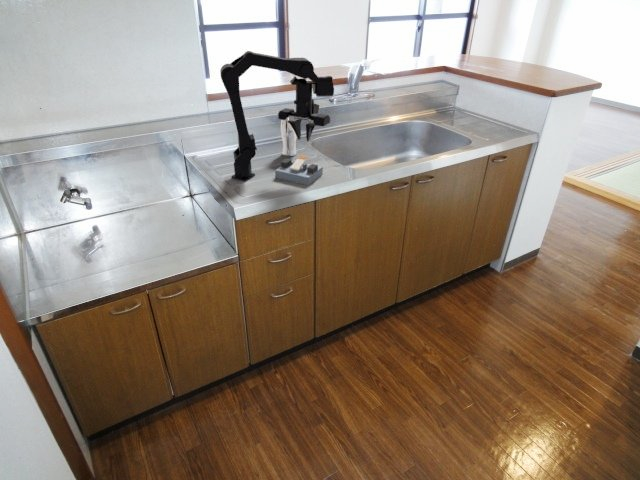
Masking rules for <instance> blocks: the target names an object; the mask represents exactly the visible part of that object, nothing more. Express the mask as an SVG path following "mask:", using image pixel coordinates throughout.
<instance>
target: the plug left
mask: <svg viewBox="0 0 640 480" xmlns="http://www.w3.org/2000/svg"><path fill="white" fill-rule="evenodd" d="M290 165H292V159H289V158H285V159H283V160H281V161H280V167H284V168H287V167H289V166H290Z"/></svg>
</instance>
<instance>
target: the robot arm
mask: <svg viewBox="0 0 640 480" xmlns="http://www.w3.org/2000/svg"><path fill="white" fill-rule="evenodd" d="M252 66H253V67H260V68H265V69H271V70H277V71H283V72H286V73H289V74H291V75H294V76H293V77H292V79H291V80H290V81H289V83H290V84H291V85H292V86H295V99H294V101H293V104H294V105H295V110H294V109H293V108H287V107H285V108H283V109H281V110H279V111H278V113H277V119H278V120H280V121H281V120H286V119H287V117H289V121H288V123H290V124H291V126H292V128H293V130H294V131H295V134H296V136H297V138H296V139H297V140H302V139H301V137H302V133H301V131H302V130H301V128H302V127H301V126H302V125H301V124H302V120H303V121H308V123H306V124H305V137H306V138H305V139H306V142H309V141H310V139H311V136H312V134H313V132H314V129H315V127H316V126H318V127H325V126H327V125H328V124H330V123H331V117H330V116H329V114H324V113H319V110H320V105H319V104H316V103H315V99H313V95H315V96H316V97H317V98H319V97H320V98H321V97H323V98H324V97H325V98H326V97H334V93H335V88H334V87H335V86H334V80H333V76H332V75H326V76H318V75H317V74H316V72H315V71H314V70H315V68H314V64H313V63H312V62H311V61H309V59H307V58H305V57H291V58H290V57H288V58H287V57H286V58H285V57H279V56H273V55H268V54H263V53H257V52H254V51H251V50H247V51H245V52H244V53H243V54H242V55H241V56H239V57H237V58H236V59H234V60H233V61H231V62H230V63H225V64H223V65H222V67H220V71H219V72H220V79H221V82H222V83H223V86H224V87H225V90H226V92H227V94H228V97H229V101H230V105H231V109H232V114H233V118H234V122H235V126H236V131H237V141H238V142H237V145H238V147H237V148H236V149H235V150H233V152H232V153H233V159H234V162H233V169H234V170H233V171H234V174H233V175H232V176H231V179H237V180H240V181H244V182H246V181H248V180H249V179H251V178H253V177H255V176H256V174H255V173H253V171H252V170H253V169H252V161H251V160H252V159H254V158H255V156H256V151H258V147H257V145H256V140H255V135H254V133H251V134H250V133H249V131H248V125H247V122H246V118H245V112H244V108H243V103H242V100H241V95H240V94H241V93H240V78H241V76H243V75H244V74H245V73H246V72H247V70H249V69H250V68H251V67H252ZM297 77H299V78H297ZM307 79H309V80H307ZM315 114H317V115H315Z"/></svg>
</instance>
